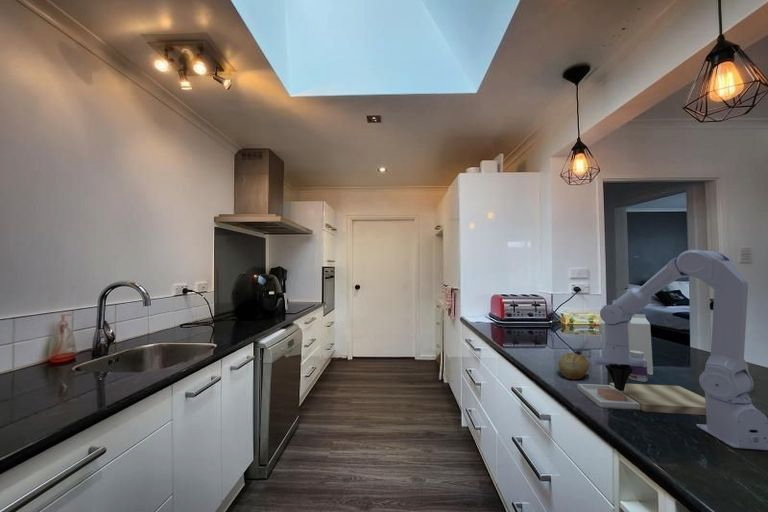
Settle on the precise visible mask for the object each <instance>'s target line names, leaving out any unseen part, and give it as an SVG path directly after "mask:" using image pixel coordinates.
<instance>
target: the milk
mask: <svg viewBox="0 0 768 512" xmlns="http://www.w3.org/2000/svg"><path fill="white" fill-rule="evenodd" d="M646 316H647V315H646V314H645V313H636V314H634V315H633V316H632V319H631V320H630V321H629V323H628V335H629V351H640V352H643V353H644V357H643V358H644V359H646V361H647V372H648V374H649V375H652V376H653V375H654V369H653V368H654V367H653V366H654V365H653V364H654V363H653V349H652V347H653V346H652V333H651V332H652V331H651V323H650V322H649V320H648V319H647V318H646ZM649 375H648V376H649Z"/></svg>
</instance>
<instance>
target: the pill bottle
mask: <svg viewBox="0 0 768 512" xmlns="http://www.w3.org/2000/svg"><path fill="white" fill-rule="evenodd" d="M629 352H630V358H636V359H644V358H643V357H644V353H643V352H640V351H629ZM644 360H646V359H644ZM630 368H632V369H633V371H632V373H631V374H630V376H629V377H628V379H630V380H631V381H635V382H640V383H641V382H642V383H644V382H648V380H649V375H648V372H647V367H642V366H630Z"/></svg>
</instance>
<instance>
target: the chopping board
mask: <svg viewBox="0 0 768 512" xmlns="http://www.w3.org/2000/svg"><path fill="white" fill-rule="evenodd" d="M609 385H611V386H612V387H614V388H615V386H614V382H609ZM620 392H622V393H623V394H625V395H627V396H628V397H630V398H631V399H633V400H634V401H636V402H638V403H639V404H640V410H641V411H642V412H645V413H661V414H662V413H665V414H679V415H697V416H698V415H699V416H706V404H705V396H701V395H699V394H697V393H696V392H693V391H691V390H688V389H686V388H684V387H682V386H679V385H666V384H665V385H664V384H645V383H644V384H642V383H640V384H639V383H626V385H625V388H624V391H620Z"/></svg>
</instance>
